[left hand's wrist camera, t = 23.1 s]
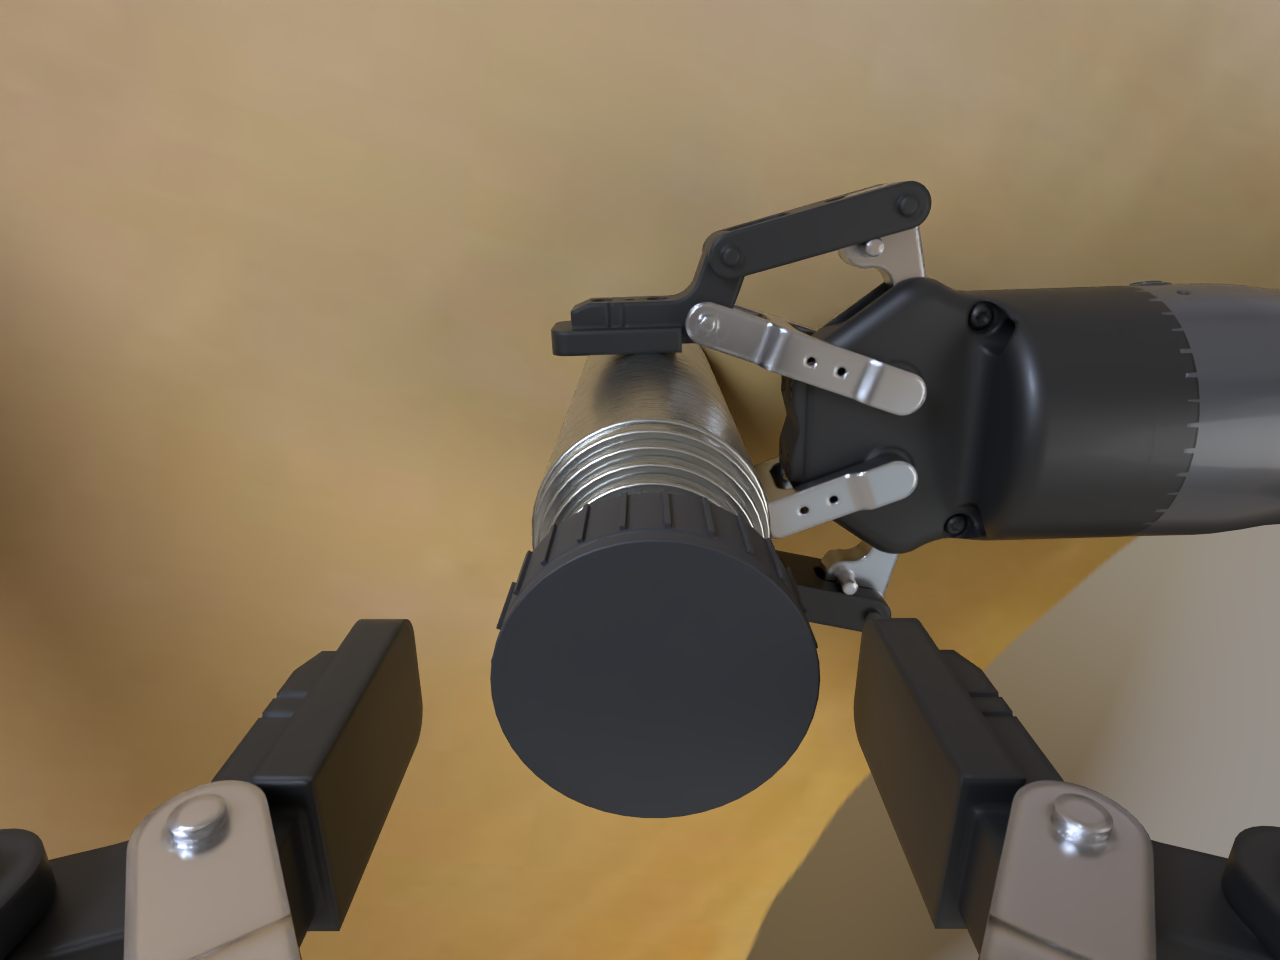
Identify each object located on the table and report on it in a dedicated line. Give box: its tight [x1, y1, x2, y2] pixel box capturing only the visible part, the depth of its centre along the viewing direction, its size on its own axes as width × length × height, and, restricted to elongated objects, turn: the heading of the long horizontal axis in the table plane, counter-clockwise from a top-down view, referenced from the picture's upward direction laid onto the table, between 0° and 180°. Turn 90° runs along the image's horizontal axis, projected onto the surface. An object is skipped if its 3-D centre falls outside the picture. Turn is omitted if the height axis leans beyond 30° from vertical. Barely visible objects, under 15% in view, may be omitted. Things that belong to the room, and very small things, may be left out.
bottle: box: [532, 343, 771, 551], centre depth 20 cm, size 5×5×19 cm
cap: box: [490, 490, 820, 818], centre depth 11 cm, size 5×5×2 cm
